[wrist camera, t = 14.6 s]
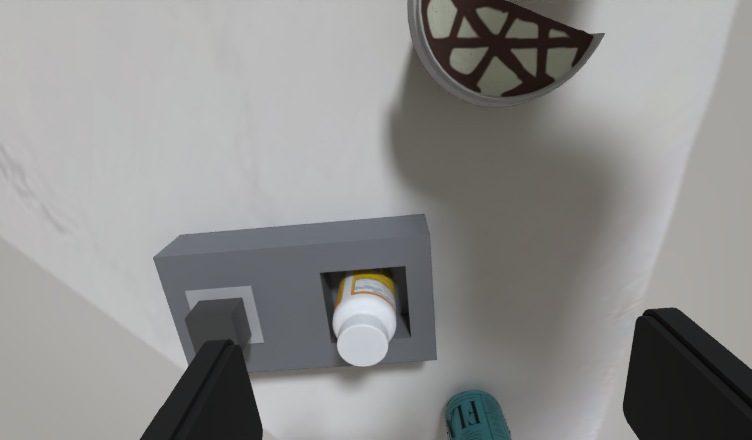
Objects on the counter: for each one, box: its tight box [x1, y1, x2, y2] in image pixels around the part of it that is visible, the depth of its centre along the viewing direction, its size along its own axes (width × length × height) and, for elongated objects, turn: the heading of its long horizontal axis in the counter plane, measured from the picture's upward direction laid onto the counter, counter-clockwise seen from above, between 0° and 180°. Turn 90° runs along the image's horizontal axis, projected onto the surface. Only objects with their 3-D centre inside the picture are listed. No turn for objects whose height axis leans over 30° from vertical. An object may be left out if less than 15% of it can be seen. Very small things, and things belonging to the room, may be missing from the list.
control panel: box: [153, 214, 437, 372], centre depth 37 cm, size 24×13×8 cm, turn 96°
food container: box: [407, 0, 605, 107], centre depth 29 cm, size 12×6×10 cm, turn 71°
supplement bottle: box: [333, 268, 396, 367], centre depth 35 cm, size 5×5×10 cm
